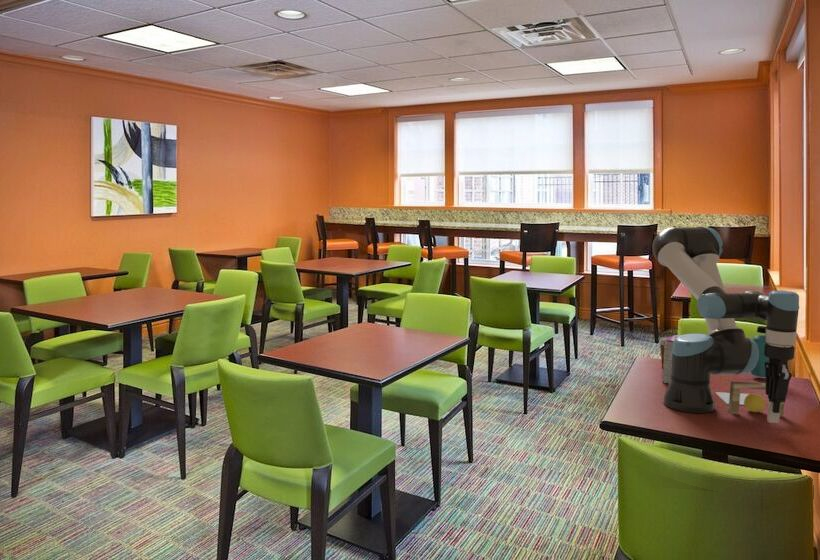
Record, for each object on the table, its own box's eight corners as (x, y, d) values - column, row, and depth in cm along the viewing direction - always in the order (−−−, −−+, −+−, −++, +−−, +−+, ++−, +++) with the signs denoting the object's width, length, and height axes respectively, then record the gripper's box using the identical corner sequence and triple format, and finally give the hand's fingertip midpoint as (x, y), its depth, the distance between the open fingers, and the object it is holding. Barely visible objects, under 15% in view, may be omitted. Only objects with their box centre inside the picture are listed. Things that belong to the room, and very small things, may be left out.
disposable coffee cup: (653, 365, 247) (654, 336, 245) (675, 365, 248) (677, 336, 246) (665, 372, 238) (667, 342, 236) (688, 371, 239) (690, 341, 237)
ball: (743, 414, 196) (749, 408, 190) (740, 396, 198) (746, 390, 193) (763, 415, 194) (770, 409, 189) (759, 397, 197) (766, 391, 192)
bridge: (783, 416, 190) (785, 386, 189) (731, 413, 192) (734, 384, 191) (779, 413, 193) (781, 383, 191) (728, 410, 195) (730, 381, 194)
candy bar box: (671, 376, 232) (674, 334, 230) (685, 378, 229) (688, 336, 227) (661, 382, 224) (663, 339, 222) (675, 385, 221) (678, 341, 219)
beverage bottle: (773, 381, 227) (777, 328, 224) (755, 381, 227) (759, 328, 224) (763, 376, 233) (767, 324, 230) (746, 375, 233) (750, 324, 230)
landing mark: (726, 404, 201) (726, 403, 201) (715, 392, 213) (715, 392, 213) (765, 406, 199) (765, 405, 199) (752, 394, 211) (752, 394, 211)
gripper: (804, 350, 169) (796, 431, 173) (784, 339, 182) (777, 415, 185) (775, 349, 171) (768, 429, 174) (757, 338, 183) (750, 413, 187)
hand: (772, 421), depth 180 cm, fingers closed
